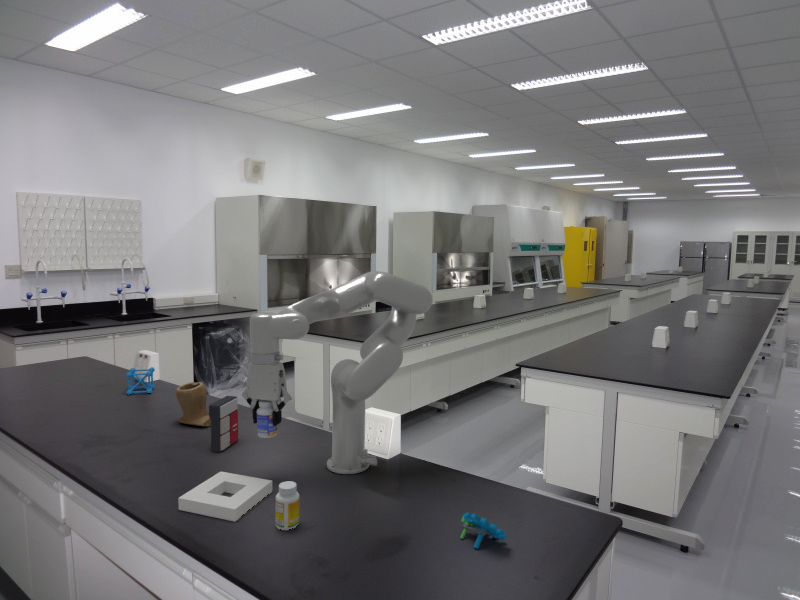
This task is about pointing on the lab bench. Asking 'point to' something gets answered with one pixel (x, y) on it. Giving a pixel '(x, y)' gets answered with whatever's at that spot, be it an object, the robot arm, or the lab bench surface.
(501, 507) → the lab bench surface
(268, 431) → the pill bottle
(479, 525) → the blue plastic legged piece
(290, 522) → the supplement bottle
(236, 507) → the white square frame
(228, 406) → the calculator
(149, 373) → the molecular structure
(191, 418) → the tan hollow piece
